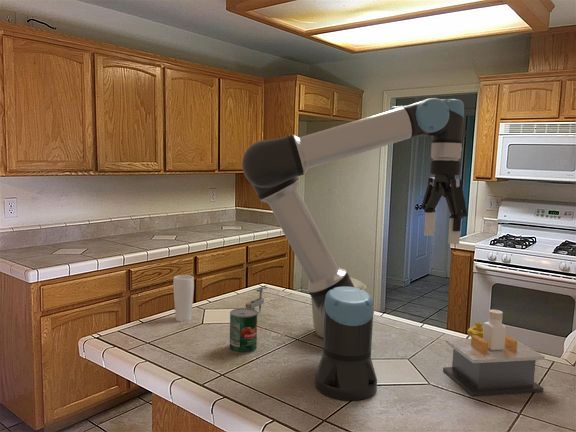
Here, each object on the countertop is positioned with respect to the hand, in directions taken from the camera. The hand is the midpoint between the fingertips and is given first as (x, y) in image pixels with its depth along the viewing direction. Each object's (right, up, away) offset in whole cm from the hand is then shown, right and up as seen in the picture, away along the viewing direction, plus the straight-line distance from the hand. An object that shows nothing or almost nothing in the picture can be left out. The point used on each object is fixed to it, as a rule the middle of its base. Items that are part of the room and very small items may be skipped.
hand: (440, 239), depth 128 cm
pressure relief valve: (+16, -35, +7) cm, 39 cm away
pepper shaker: (+11, -27, -7) cm, 30 cm away
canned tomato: (-54, -33, +11) cm, 64 cm away
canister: (-26, -32, +24) cm, 47 cm away
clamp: (-52, -30, +40) cm, 72 cm away
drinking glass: (-77, -29, +34) cm, 89 cm away
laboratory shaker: (+11, -36, -6) cm, 38 cm away
